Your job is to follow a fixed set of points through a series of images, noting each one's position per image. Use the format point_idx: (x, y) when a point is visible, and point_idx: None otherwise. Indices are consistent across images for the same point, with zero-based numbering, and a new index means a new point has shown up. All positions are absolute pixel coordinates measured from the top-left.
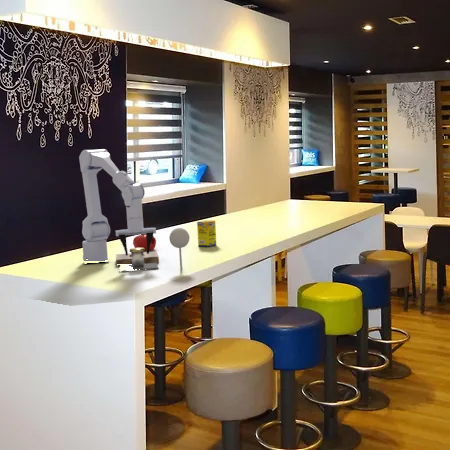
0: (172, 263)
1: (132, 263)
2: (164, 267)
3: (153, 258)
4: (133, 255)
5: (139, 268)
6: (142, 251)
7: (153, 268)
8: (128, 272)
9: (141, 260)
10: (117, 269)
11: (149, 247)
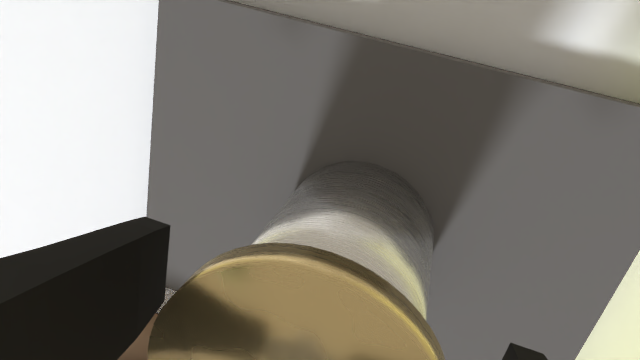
0: (19, 199)
1: (431, 251)
2: (98, 53)
3: (142, 352)
4: (407, 288)
5: (385, 87)
6: (220, 254)
7: (219, 1)
8: (579, 27)
9: (305, 197)
10: (610, 317)
11: (37, 249)
